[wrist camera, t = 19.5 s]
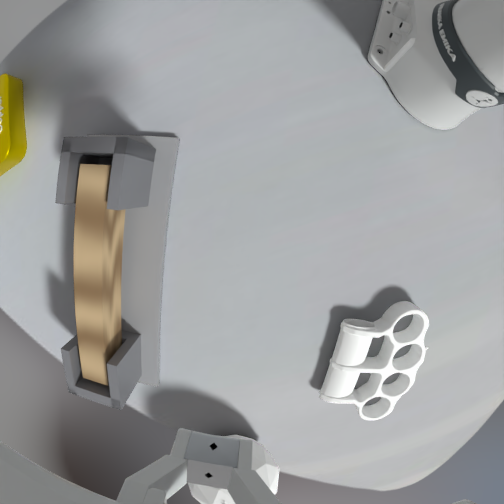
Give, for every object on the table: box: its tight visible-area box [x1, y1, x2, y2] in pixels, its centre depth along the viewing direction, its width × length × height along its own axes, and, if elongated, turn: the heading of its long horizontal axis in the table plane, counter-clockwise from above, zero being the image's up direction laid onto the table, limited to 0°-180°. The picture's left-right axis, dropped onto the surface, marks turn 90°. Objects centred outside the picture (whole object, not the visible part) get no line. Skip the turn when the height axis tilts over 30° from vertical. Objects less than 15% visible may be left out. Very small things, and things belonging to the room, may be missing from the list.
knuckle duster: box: [319, 301, 429, 421], centre depth 35 cm, size 3×18×15 cm
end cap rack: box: [56, 135, 180, 410], centre depth 30 cm, size 32×12×9 cm, turn 171°
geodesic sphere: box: [188, 435, 279, 504], centre depth 33 cm, size 14×14×14 cm
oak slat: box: [74, 164, 126, 386], centre depth 29 cm, size 24×4×5 cm, turn 172°
